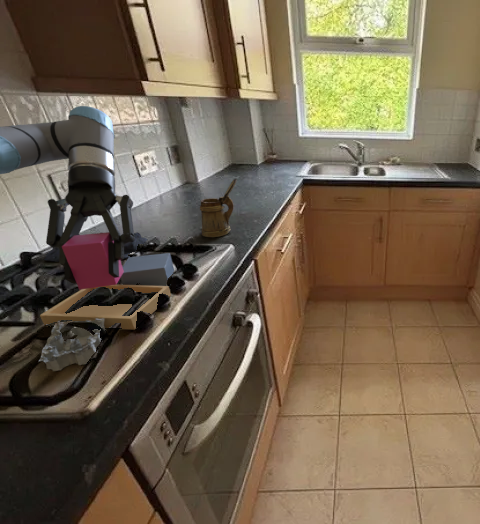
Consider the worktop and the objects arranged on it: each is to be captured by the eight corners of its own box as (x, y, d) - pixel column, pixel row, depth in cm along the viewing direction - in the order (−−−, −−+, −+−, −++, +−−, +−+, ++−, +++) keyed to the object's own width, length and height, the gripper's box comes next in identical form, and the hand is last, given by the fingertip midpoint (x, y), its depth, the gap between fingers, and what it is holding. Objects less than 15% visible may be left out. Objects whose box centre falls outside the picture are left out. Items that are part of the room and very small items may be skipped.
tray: (44, 326, 64) (39, 315, 63) (95, 293, 76) (91, 283, 74) (134, 329, 64) (130, 318, 63) (171, 295, 75) (168, 286, 74)
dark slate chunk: (77, 241, 102) (72, 227, 100) (153, 241, 104) (149, 226, 102) (37, 263, 88) (30, 246, 86) (126, 261, 90) (120, 245, 88)
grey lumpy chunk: (65, 336, 62) (57, 318, 60) (113, 328, 64) (107, 310, 63) (38, 376, 53) (27, 355, 51) (95, 364, 55) (87, 345, 54)
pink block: (79, 289, 63) (61, 246, 59) (89, 276, 68) (73, 235, 64) (116, 284, 65) (101, 242, 61) (124, 271, 70) (110, 231, 66)
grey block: (125, 292, 76) (118, 273, 74) (134, 275, 84) (128, 257, 82) (169, 286, 79) (164, 267, 77) (174, 270, 87) (169, 252, 85)
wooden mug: (244, 234, 112) (237, 180, 104) (200, 238, 107) (189, 182, 99) (244, 226, 119) (236, 175, 111) (202, 229, 115) (192, 177, 107)
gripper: (150, 182, 76) (156, 276, 69) (45, 187, 69) (41, 291, 63) (138, 161, 69) (144, 264, 63) (22, 165, 63) (14, 280, 56)
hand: (92, 277), depth 63 cm, fingers closed on pink block, 6 cm apart
